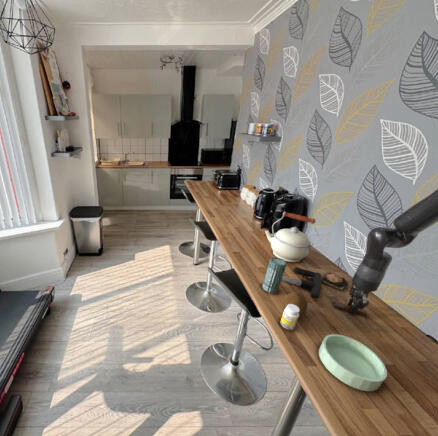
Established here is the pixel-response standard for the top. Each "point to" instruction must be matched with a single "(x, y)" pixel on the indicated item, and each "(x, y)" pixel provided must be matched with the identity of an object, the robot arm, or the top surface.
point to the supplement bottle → (290, 316)
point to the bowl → (352, 362)
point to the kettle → (291, 240)
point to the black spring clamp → (307, 285)
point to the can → (274, 275)
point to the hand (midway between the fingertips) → (351, 310)
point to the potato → (296, 302)
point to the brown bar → (347, 307)
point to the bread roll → (335, 281)
